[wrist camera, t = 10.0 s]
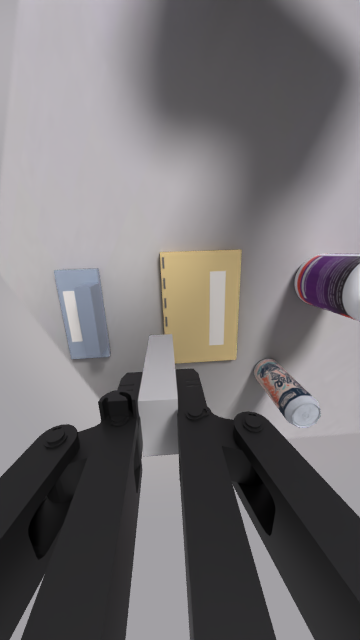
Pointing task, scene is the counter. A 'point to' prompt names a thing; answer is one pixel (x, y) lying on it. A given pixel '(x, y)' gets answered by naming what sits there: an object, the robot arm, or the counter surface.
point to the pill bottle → (331, 283)
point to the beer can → (287, 394)
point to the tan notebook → (201, 303)
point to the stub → (83, 312)
